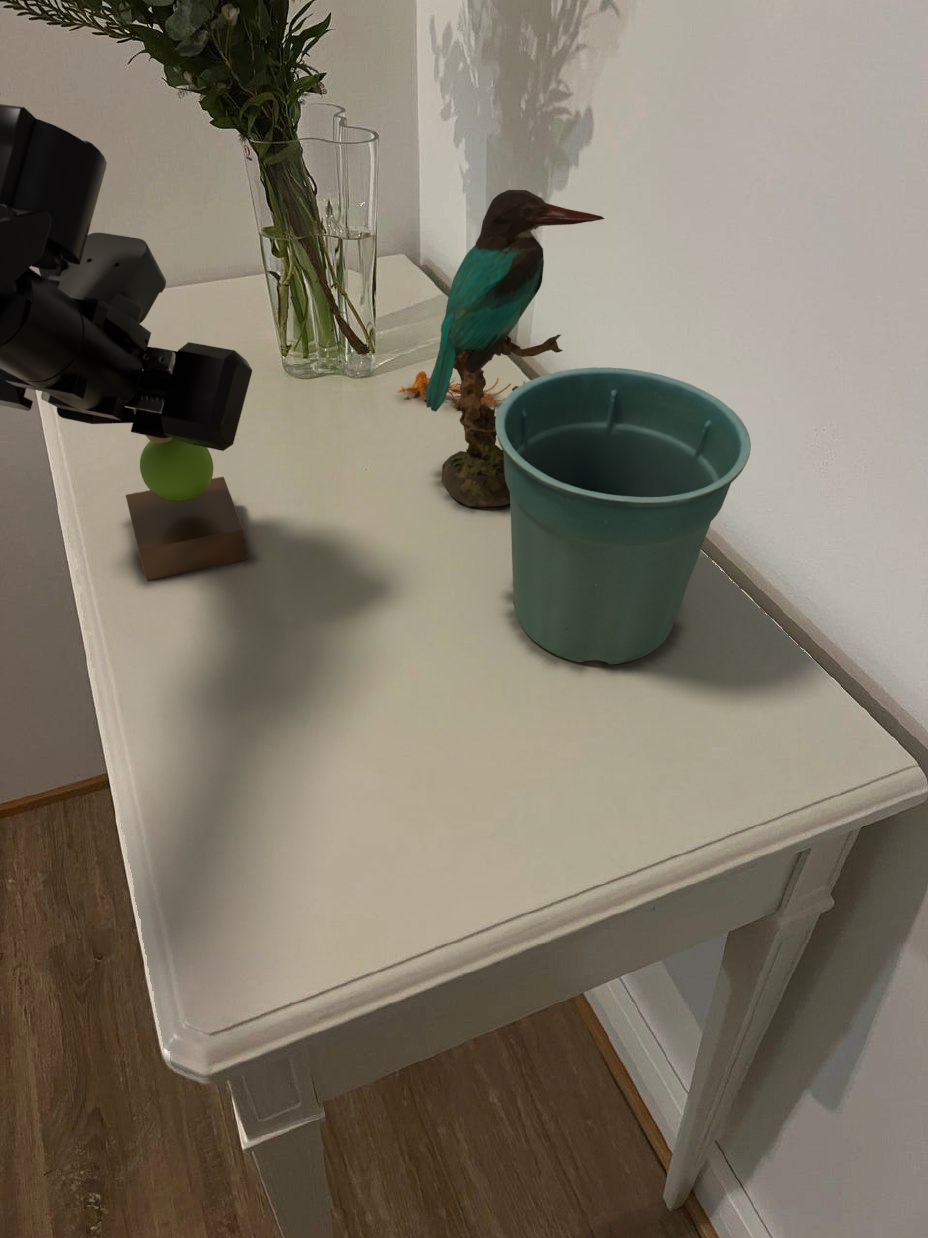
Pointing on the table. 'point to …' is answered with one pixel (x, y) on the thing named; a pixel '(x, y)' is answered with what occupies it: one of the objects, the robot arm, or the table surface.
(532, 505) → the flower pot
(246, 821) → the table surface
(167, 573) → the riser
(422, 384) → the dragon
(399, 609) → the table surface
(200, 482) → the snail figurine
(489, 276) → the sculpture
